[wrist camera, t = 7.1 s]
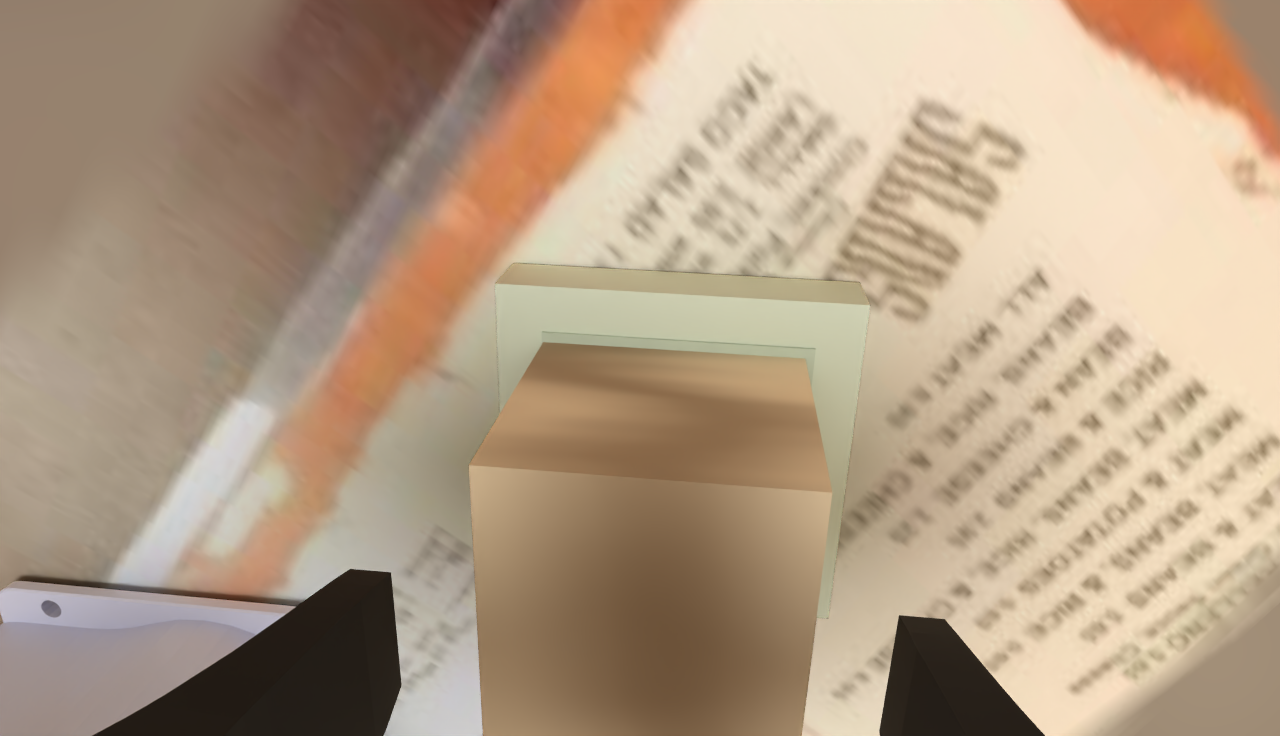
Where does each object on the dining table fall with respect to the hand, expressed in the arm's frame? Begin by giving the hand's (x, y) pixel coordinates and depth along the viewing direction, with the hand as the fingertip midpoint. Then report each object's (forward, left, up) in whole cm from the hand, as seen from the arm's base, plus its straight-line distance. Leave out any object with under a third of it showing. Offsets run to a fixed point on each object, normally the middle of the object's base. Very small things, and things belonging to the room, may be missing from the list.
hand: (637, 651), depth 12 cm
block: (0, 0, -6) cm, 6 cm away
